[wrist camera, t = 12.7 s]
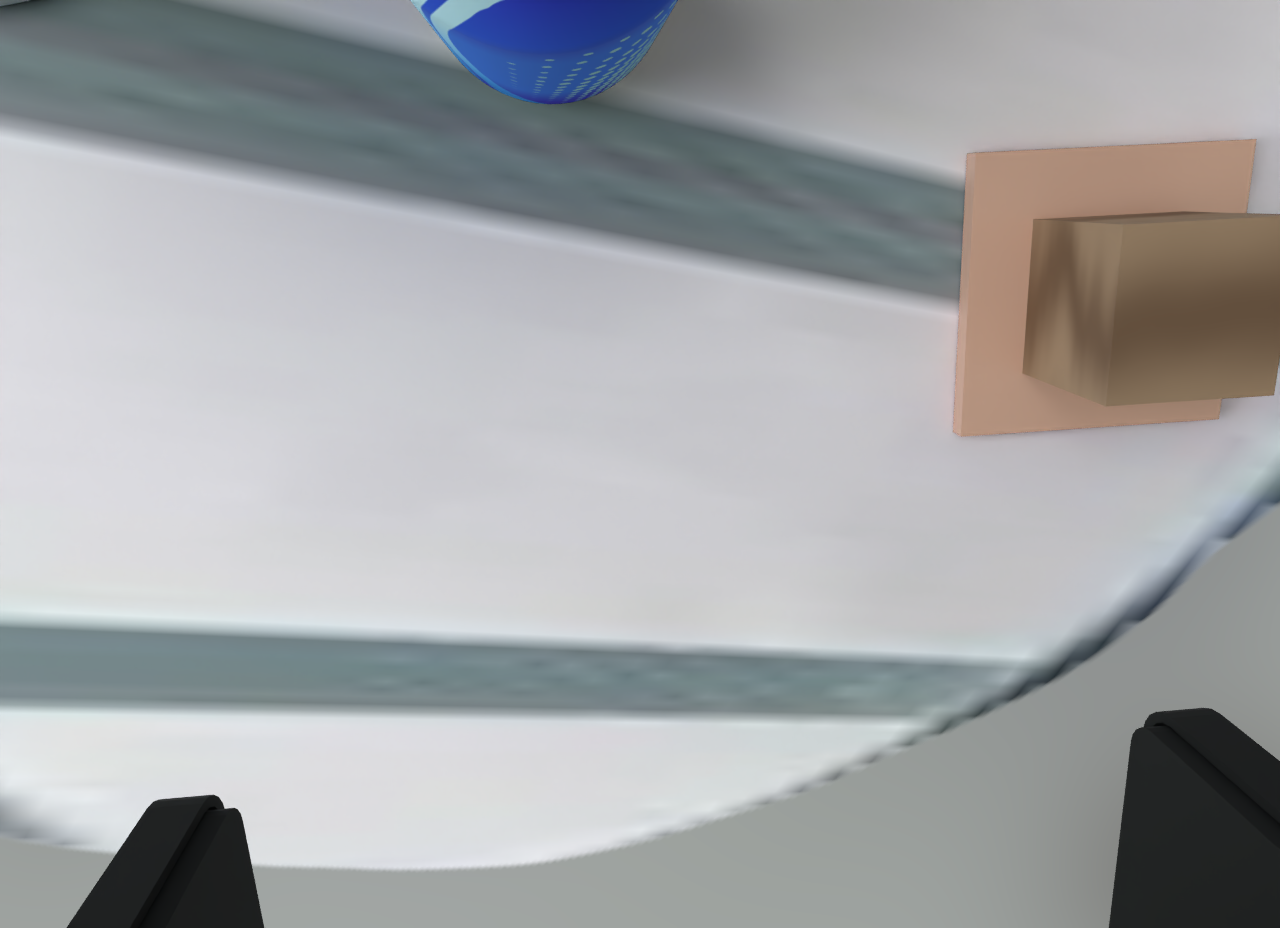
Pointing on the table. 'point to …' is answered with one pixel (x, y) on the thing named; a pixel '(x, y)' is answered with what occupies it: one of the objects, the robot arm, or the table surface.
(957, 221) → the table surface
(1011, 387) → the coaster
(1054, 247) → the walnut block
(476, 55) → the beer can
